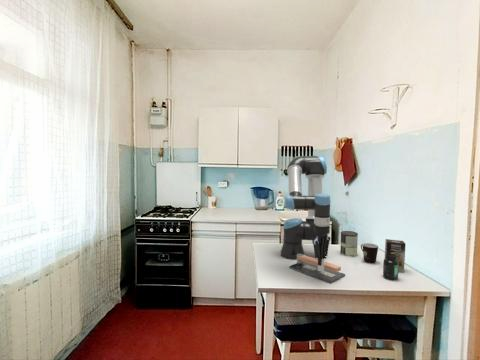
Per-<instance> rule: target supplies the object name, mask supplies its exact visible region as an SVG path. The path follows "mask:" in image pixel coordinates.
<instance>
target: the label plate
mask: <svg viewBox="0 0 480 360" xmlns="http://www.w3.org/2000/svg"><path fill="white" fill-rule="evenodd" d="M288 268H289V269H290V270H294V271H296V272H299V273H302V274H304V275H306V276H309V277H312V278H314V279H317V280H320V281H322V282H325V283H326V284H333V283H335V282H337V281H339V280H341V279H343V278H344V277H345V278H346V274H345V273H343V272H341V271H339V272H337V273H336V272H333V271H330V270H327V269H324V272H321V271H318V266H315V265H312V264H309V263H306V262H303V261H300V260H297V259H296V263H294V264H291V265H289V266H288Z"/></svg>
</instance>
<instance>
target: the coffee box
mask: <svg viewBox="0 0 480 360" xmlns="http://www.w3.org/2000/svg"><path fill="white" fill-rule="evenodd" d="M386 254H395V255H396V256H397V261H398V263H399V269H398V273H403V274H404V273H405V262H406V261H405V260H406V258H405V257H406V242H404V240H399V239H397V240H396V239H387V238H385V244H384V259H386Z"/></svg>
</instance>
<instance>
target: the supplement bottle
mask: <svg viewBox="0 0 480 360" xmlns="http://www.w3.org/2000/svg"><path fill="white" fill-rule="evenodd" d="M382 264H383V265H382V276H383V278H384V279H386V280H388V281H397V280H398V279H399V272H398V269H399V263H398V261H397V256H396V255H395V254H386V259H385V258H384V260H383V263H382Z"/></svg>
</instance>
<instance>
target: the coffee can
mask: <svg viewBox="0 0 480 360" xmlns="http://www.w3.org/2000/svg"><path fill="white" fill-rule="evenodd" d="M358 236H359V233H358V232H356V231H353V230H342V231H340V255H342V256H345V257H348V258H349V257H352V258H353V257H354V258H355V257H357V256H358V241H359V240H358Z"/></svg>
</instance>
